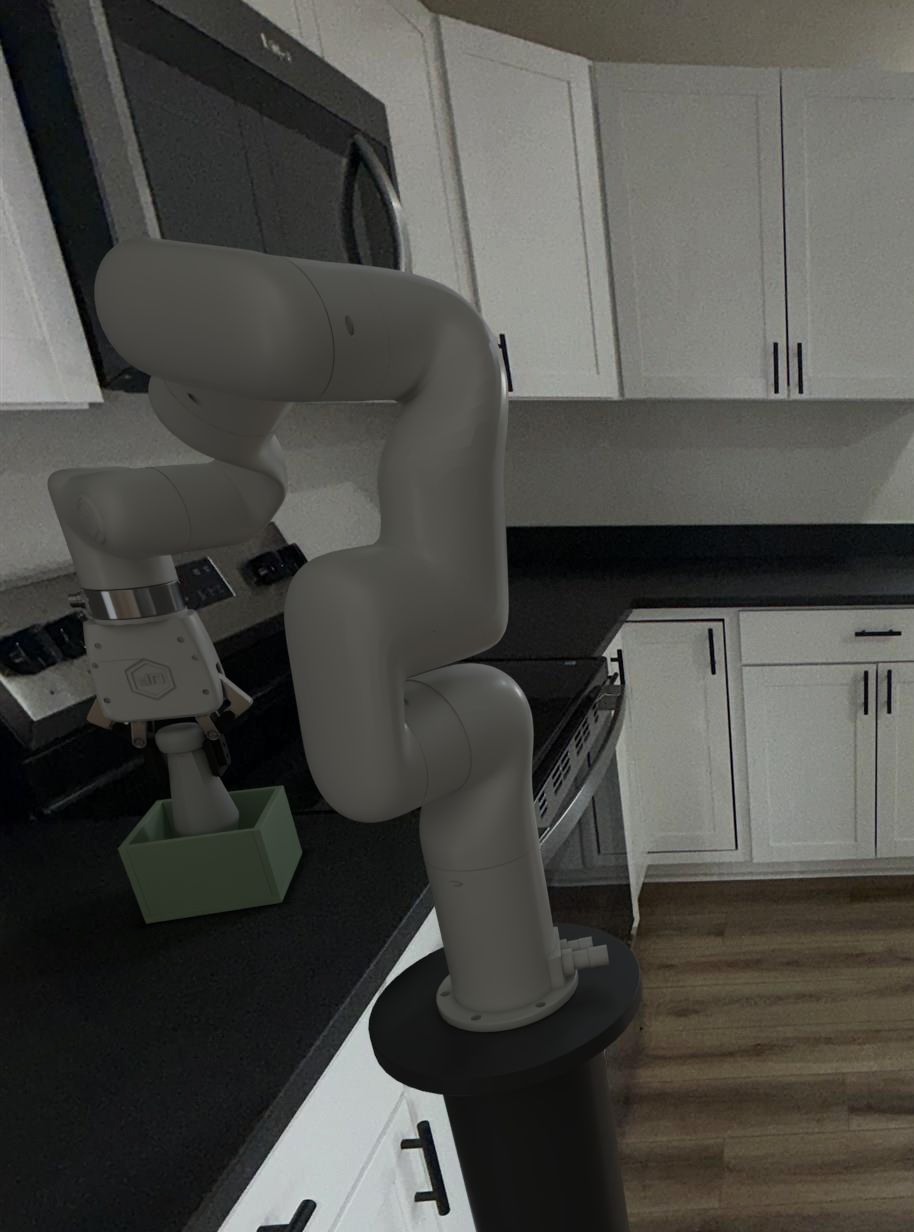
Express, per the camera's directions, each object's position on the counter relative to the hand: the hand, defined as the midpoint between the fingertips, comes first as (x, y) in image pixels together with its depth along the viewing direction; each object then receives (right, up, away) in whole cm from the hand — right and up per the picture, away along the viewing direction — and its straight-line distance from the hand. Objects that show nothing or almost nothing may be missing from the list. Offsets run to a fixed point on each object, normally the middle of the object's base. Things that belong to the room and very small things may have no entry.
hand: (193, 773), depth 97 cm
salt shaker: (0, -7, +3) cm, 8 cm away
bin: (0, -12, +6) cm, 14 cm away
